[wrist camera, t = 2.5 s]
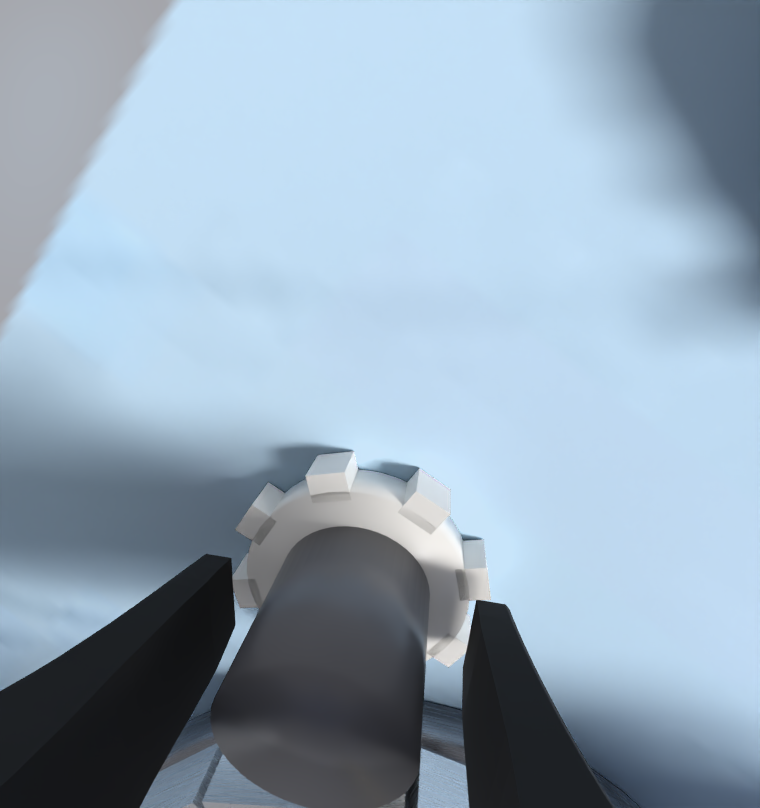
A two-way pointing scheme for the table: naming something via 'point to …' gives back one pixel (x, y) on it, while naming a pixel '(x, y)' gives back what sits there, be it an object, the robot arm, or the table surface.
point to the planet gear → (344, 632)
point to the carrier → (249, 804)
